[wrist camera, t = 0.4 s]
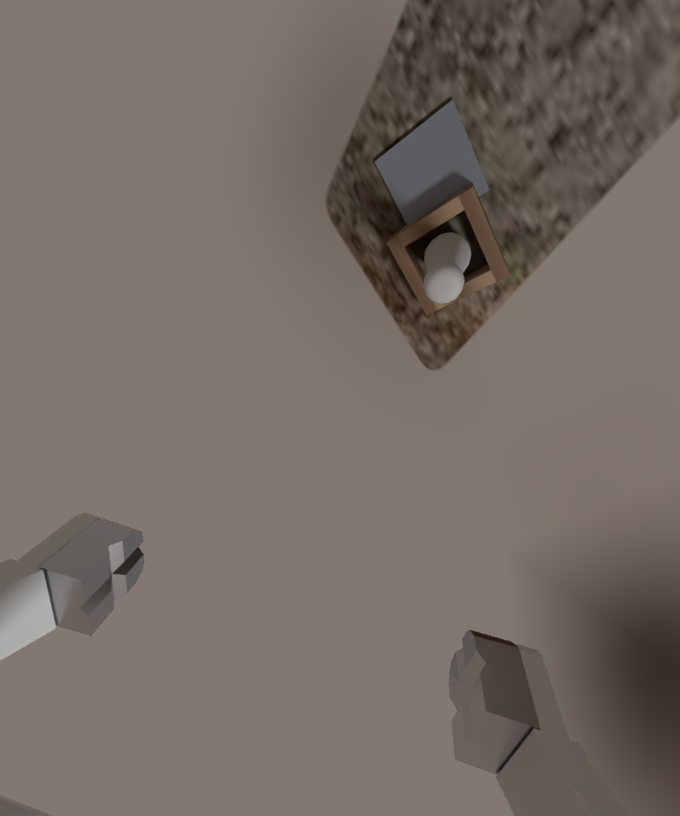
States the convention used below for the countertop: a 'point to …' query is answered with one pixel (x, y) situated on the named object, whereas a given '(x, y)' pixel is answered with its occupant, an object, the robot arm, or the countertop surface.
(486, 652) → the robot arm
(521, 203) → the countertop surface
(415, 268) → the pocket frame
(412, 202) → the slate mat
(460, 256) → the salt shaker
